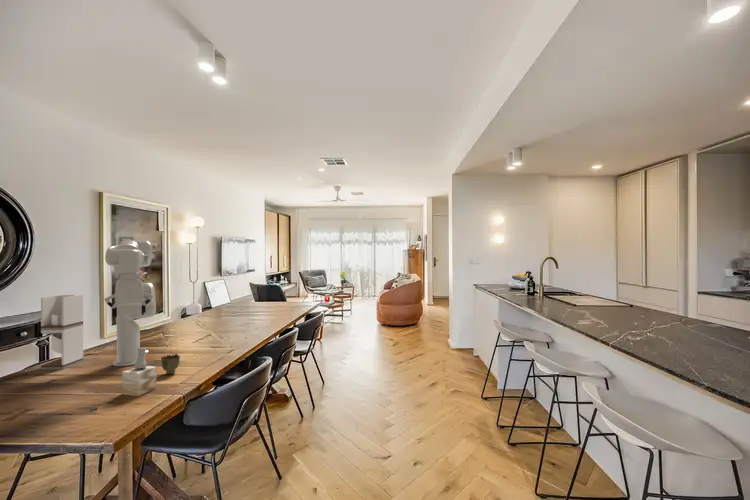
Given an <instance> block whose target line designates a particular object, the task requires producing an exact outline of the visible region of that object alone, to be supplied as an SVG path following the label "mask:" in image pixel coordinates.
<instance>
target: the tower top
mask: <svg viewBox="0 0 750 500" xmlns="http://www.w3.org/2000/svg"><path fill="white" fill-rule="evenodd" d="M121 375H122V380H121V381H122V383H125V384H133V385H140V384H142V383H145V382H147V381H150V380H152V379H155V378H156V379H157V366H152V365H146V368H137V369H135V368H134V367H132V368H130V369H127V370H124V371H122V374H121Z"/></svg>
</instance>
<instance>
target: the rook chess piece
mask: <svg viewBox="0 0 750 500" xmlns="http://www.w3.org/2000/svg"><path fill="white" fill-rule="evenodd" d="M146 350H148V349H147V347H146V346H144V347H140V348H139V349H138V350H137V351H138V358H137V361H136V363H135V364H133V365H134V366H133V368H135V369H137V368H146V366H147V361H146V355H147V354H146V353H145V351H146Z"/></svg>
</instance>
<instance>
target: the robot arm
mask: <svg viewBox="0 0 750 500" xmlns="http://www.w3.org/2000/svg"><path fill="white" fill-rule="evenodd" d="M152 258H153V244H152V243H151V242H150V241H149V240H146V239H143V240H142V239H126V240H122V241H121V242H120V243H119V244H117V245H113V246H109V247H107V249H106V251H105V257H104V259H105V262H106V264H107V265H108V266H112V268H113V270H114V273H115V275H114V279H117V280H116V282H115V287H114V288H115V289H114V293H113V294H111V295H110V296H108V297H105V298H104V301H105V303H106V304H107V305H108V307H110V308H111V309H112V316H113V317H114V318H115V321H116V360H114V361H112V366H114V367H127V366H133V365H134V364H135V363H136V361H137V358H138V351H137V350H138V349H139V348H141V347H140V346H141V345H140V344H141V334H140V333H141V329H140V328H141V327H140V325H139V324H138V323H137V322H136V321H135V320H138V319H146V318H147V319H149V318H152V317H154V316H156V313H157V305H156V304H157V303H156V290H155V286H154V284H153V283H152V282H143V280H142V279H140V278H141V277H140V276H141V275H140V272H141V271H140V270H141V268H146V267H149V266H150V265H151V264H152ZM112 299H114V303H112V302H111V301H110V300H112ZM145 353H146V354H145V355H148V354H149V350H148V349H147V350H146V351H145Z"/></svg>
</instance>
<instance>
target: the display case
mask: <svg viewBox="0 0 750 500" xmlns="http://www.w3.org/2000/svg"><path fill="white" fill-rule="evenodd" d="M40 334H50V337H51V339H50V341H51V342H50V343H51V344H50V347H51V350H52V351H53V352H55V353H57V354H61V358H60V359H59V358H58V359H56V360H54V361H51V362H48V363H45V364H42V365H40V371H51V370H59V371H60V370H66V369H68V368H71V367H73V366H76V365H79V364H82V363H84V294H59V295H58V294H57V295H52V296H51V295H50V296H45V297H44V296H43V297H40Z"/></svg>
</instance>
